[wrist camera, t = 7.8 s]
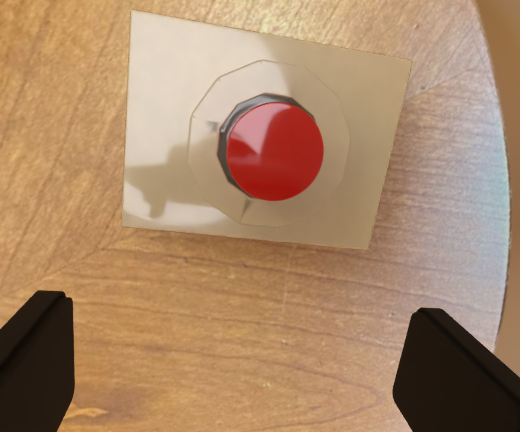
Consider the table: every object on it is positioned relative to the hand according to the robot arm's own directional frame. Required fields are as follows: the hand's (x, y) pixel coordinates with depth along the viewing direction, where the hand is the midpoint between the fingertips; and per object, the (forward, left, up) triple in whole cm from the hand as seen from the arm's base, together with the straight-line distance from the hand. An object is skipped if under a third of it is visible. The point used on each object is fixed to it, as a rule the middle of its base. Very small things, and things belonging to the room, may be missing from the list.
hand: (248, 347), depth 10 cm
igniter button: (-1, -5, -6) cm, 8 cm away
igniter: (-1, -5, -10) cm, 11 cm away
